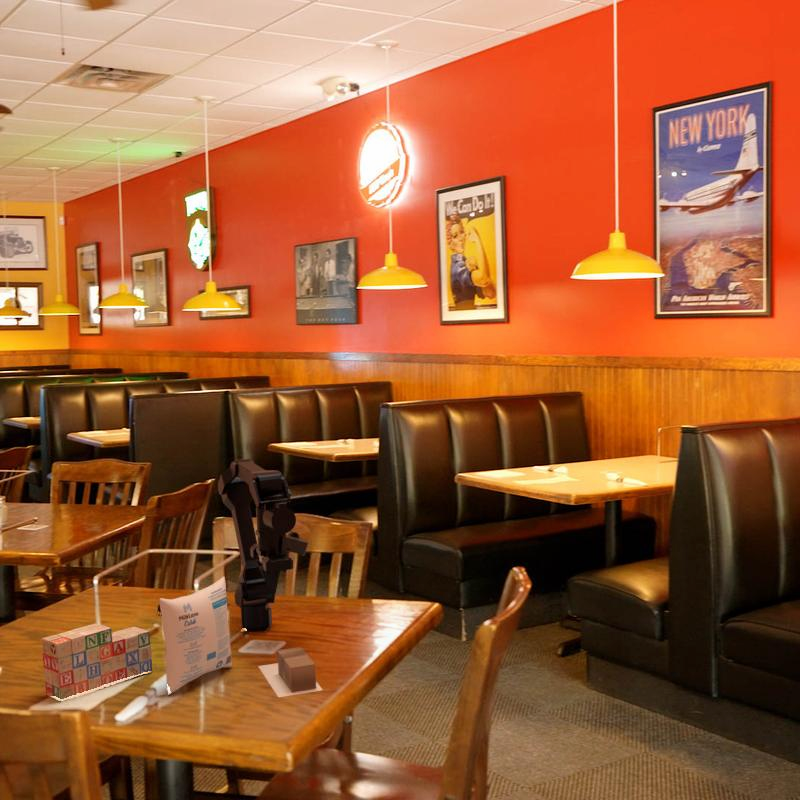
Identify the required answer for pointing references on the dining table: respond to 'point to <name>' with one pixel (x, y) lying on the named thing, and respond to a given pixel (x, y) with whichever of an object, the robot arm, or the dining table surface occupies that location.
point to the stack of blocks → (93, 658)
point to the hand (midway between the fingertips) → (273, 593)
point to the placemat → (281, 681)
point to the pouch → (196, 634)
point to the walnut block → (296, 669)
